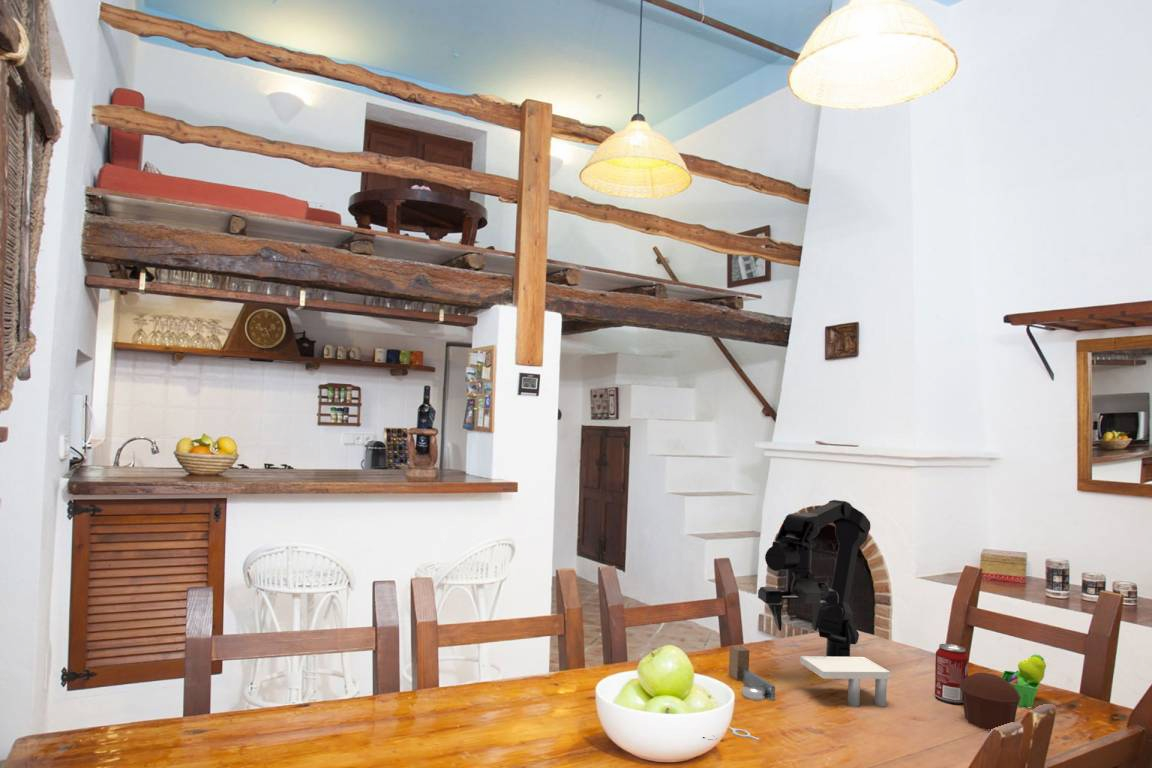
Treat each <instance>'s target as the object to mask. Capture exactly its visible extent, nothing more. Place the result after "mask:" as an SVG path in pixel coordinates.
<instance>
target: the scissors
mask: <svg viewBox="0 0 1152 768" xmlns="http://www.w3.org/2000/svg"><path fill="white" fill-rule="evenodd" d="M728 730H730V731H731V732H732V735H733V736H736V737H739V738H744V739H745V738H750V739H752V740H754V741H757V742H758V741H760V737H755V736H753V735H751V733H750V731H747V730H746V729H742V728H734V727H731V726H729V729H728ZM738 732H740V734H739V733H738ZM741 733H744V734H741Z"/></svg>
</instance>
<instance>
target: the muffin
mask: <svg viewBox="0 0 1152 768" xmlns="http://www.w3.org/2000/svg"><path fill="white" fill-rule="evenodd" d="M1001 677H1002V676H998V675H996V674H993V673H988V672H975V673H972V674H968V676H967V677H966V678H965V679H964V680H963V681H962V683H961V684H960V685H959V688H960V690H961V691H962V698H963V702H962V704H963V713H964V718H966V719H967V720H968V721H967V720H966V719H965V720H966V721H967V722H968V723H969V724H970V723H971V724H970V725H972V724H973V725H972V726H976V727H977V728H978V729H982V728H983V730H988V729H990V730H988V731H991V729H993V728H995V727H998V726H1001V725H1004V724H1007V723H1010V722H1014V723H1015V720H1016V715H1017V711H1018V707H1019V706H1018V702H1019V701H1020V699H1021V697H1020V695H1019V693H1018V692H1017V690H1016V689H1015V688H1014V686H1012V685H1011V684H1010V683H1009V682H1007V681H1006V680H1005V679H1003V678H1001Z"/></svg>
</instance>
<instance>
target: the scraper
mask: <svg viewBox="0 0 1152 768" xmlns="http://www.w3.org/2000/svg"><path fill="white" fill-rule="evenodd" d="M728 660H729V661H728V662H729V663H728V676H729V677H730V678H732V679H733V680H735V681H738V682H739V681H740V682H742V683H744V685H746V684H754V685H759V686H762V687H764V688H765V698H766V699H768V700H770V701H775V699H776V686H775V685H774V684H772V683H771V682H769V681H768V680H766V679H765V678H763V677H761V676H759V675H758V674H756V673H754V672H753V671H752V670H750V667H749V666H750V650H749V649H747V648H746V647H744V646H743V645H730V646H729V659H728Z"/></svg>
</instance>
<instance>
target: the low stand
mask: <svg viewBox="0 0 1152 768" xmlns="http://www.w3.org/2000/svg"><path fill="white" fill-rule="evenodd" d="M799 658H800V659H799V662H800V664H801V665H803V666H804V667H806V668H807V669H809V670H810V671H811V672H813V673H815V674H816V675H817V676H819V677H820V678H822V679H824V680H825V679H827V680H828V679H832V680H833V679H834V680H835V679H836V680H837V679H838V680H839V679H840V680H843V679H845V680H846V679H847V681H848V684H847V705H848V706H850V707H855V708H856V707H857V708H858V707H859V706H860V695H861V694H860V692H861V680H864V679H865V680H871V679H872V680H875V681H874V683H875V684H874V705H875V706H878V707H880V708H881V707H883V708H884V707H887V694H888V693H887V692H888V691H887V687H888V680H890V679H891V671H889V670H888V669H885V668H884V667H882V666H881V665H879V664H877V663H875V662H873V661H872V660H870V659H868V658H866V657H864V656H850V657H831V656H826V655H825V656H818V655H817V656H812V655H809V656H808V655H807V656H806V655H802V656H801V655H800V657H799Z"/></svg>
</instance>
